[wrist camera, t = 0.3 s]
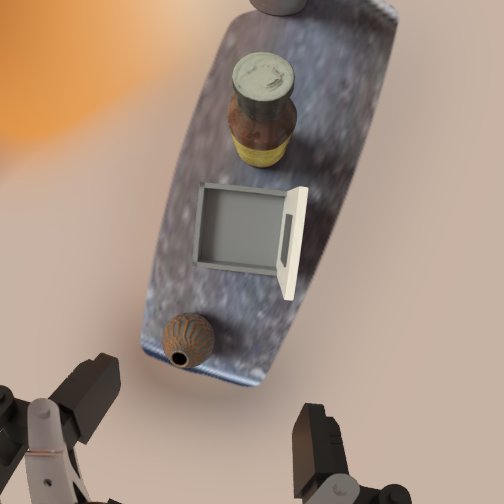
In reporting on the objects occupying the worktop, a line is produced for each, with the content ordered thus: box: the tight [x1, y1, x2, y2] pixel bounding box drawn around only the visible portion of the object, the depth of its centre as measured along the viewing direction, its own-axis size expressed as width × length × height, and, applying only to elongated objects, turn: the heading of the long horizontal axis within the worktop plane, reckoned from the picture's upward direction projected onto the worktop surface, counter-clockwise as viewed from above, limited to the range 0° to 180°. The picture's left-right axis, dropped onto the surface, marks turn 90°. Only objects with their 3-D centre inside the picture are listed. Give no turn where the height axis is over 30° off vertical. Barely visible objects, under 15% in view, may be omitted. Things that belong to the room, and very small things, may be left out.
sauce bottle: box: [228, 52, 297, 168], centre depth 25 cm, size 6×6×20 cm
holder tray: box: [192, 182, 308, 300], centre depth 31 cm, size 10×11×12 cm
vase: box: [162, 313, 215, 368], centre depth 35 cm, size 7×7×9 cm
